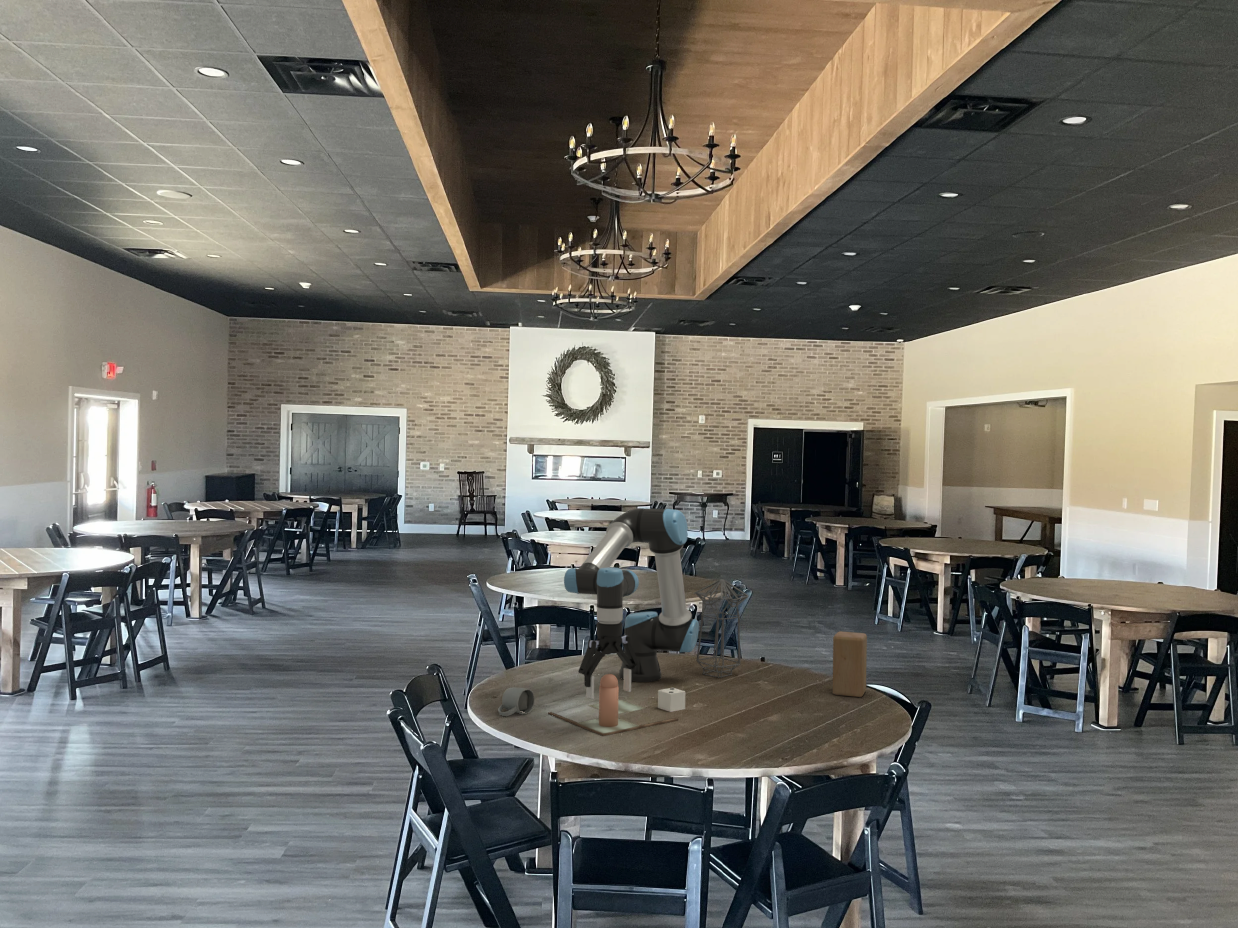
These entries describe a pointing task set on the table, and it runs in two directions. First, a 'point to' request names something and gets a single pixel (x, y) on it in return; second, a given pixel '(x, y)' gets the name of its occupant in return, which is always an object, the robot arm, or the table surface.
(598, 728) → the game board
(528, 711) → the ceramic mug
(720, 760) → the table surface
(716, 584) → the geometric lantern
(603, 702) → the pawn
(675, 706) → the off-white cube
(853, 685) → the wooden block
